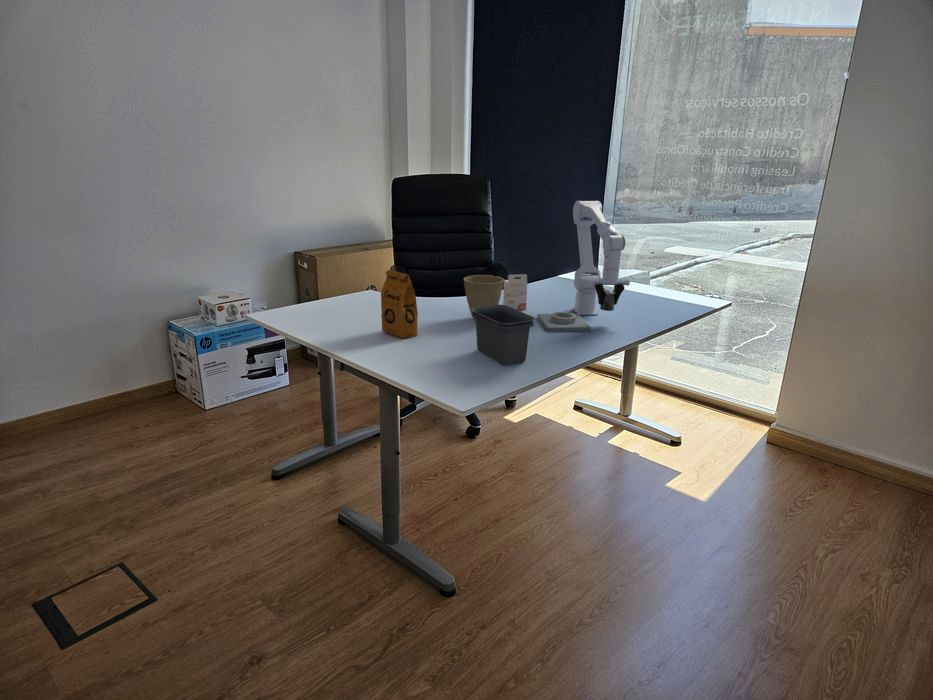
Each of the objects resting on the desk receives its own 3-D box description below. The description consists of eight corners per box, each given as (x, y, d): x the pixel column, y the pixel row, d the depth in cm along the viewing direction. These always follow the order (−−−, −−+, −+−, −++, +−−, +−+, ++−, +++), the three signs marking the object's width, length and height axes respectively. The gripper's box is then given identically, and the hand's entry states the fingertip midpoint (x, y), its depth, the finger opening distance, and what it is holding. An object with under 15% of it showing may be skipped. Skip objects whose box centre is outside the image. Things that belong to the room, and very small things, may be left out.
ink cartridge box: (521, 306, 249) (523, 271, 244) (526, 309, 244) (528, 274, 239) (502, 307, 247) (503, 272, 242) (506, 310, 242) (508, 275, 237)
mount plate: (537, 317, 234) (538, 308, 233) (577, 317, 235) (578, 308, 234) (547, 331, 217) (548, 322, 216) (590, 331, 218) (591, 322, 217)
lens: (598, 307, 227) (600, 289, 224) (611, 307, 227) (613, 289, 225) (602, 310, 222) (604, 292, 220) (615, 310, 223) (617, 292, 220)
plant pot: (499, 314, 237) (501, 274, 231) (504, 325, 223) (506, 283, 217) (461, 314, 235) (462, 274, 230) (464, 325, 221) (465, 283, 216)
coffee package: (399, 341, 203) (398, 277, 195) (378, 332, 211) (376, 271, 204) (422, 335, 209) (422, 273, 202) (400, 327, 218) (399, 267, 210)
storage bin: (465, 349, 197) (466, 306, 192) (505, 342, 204) (507, 301, 199) (500, 370, 179) (502, 324, 175) (542, 362, 187) (545, 318, 182)
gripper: (595, 270, 215) (591, 306, 220) (634, 270, 216) (629, 306, 221) (589, 266, 222) (586, 301, 226) (627, 266, 223) (623, 301, 228)
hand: (607, 304), depth 224 cm, fingers closed on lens, 5 cm apart
